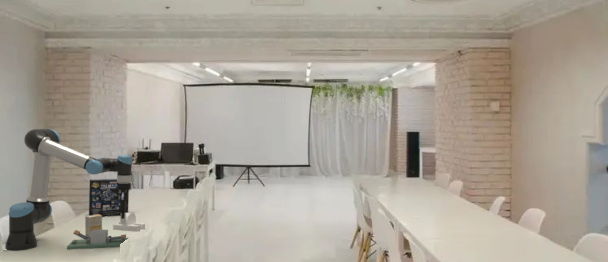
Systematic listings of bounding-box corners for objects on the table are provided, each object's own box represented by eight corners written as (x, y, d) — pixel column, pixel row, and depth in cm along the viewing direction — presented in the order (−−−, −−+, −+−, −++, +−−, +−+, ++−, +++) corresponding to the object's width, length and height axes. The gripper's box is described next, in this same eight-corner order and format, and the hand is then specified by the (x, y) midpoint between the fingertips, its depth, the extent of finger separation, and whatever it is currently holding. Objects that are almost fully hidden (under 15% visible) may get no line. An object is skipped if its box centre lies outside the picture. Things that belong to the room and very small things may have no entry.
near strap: (90, 240, 280) (92, 237, 280) (88, 242, 275) (90, 239, 275) (74, 232, 278) (76, 229, 278) (72, 234, 273) (74, 231, 273)
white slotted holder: (137, 232, 312) (137, 215, 312) (112, 230, 317) (112, 213, 317) (145, 229, 322) (145, 212, 321) (121, 227, 326) (121, 210, 326)
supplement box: (98, 235, 300) (98, 214, 300) (102, 236, 297) (102, 215, 297) (84, 237, 294) (85, 215, 294) (88, 239, 291) (89, 216, 291)
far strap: (106, 241, 277) (106, 238, 277) (108, 239, 282) (108, 236, 282) (125, 239, 279) (125, 236, 279) (126, 237, 284) (126, 234, 284)
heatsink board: (66, 249, 267) (66, 235, 267) (73, 242, 283) (73, 229, 283) (125, 246, 274) (125, 233, 274) (128, 240, 290) (128, 227, 290)
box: (128, 213, 372) (128, 178, 372) (129, 215, 366) (129, 179, 366) (88, 216, 360) (88, 179, 360) (89, 218, 354) (89, 180, 354)
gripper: (129, 184, 276) (128, 226, 276) (132, 181, 288) (131, 221, 289) (115, 184, 274) (114, 226, 274) (118, 181, 286) (117, 221, 287)
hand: (122, 223), depth 281 cm, fingers closed
